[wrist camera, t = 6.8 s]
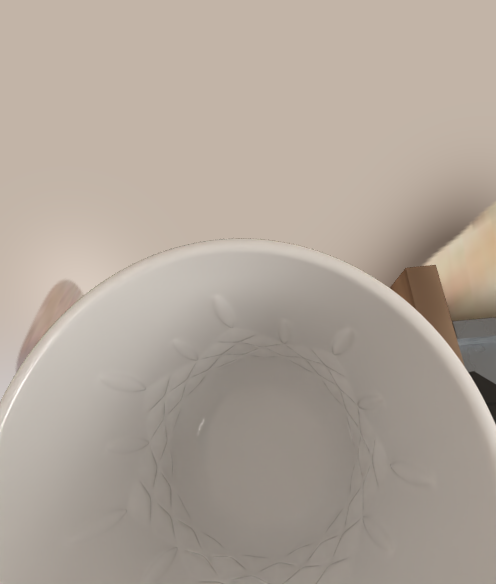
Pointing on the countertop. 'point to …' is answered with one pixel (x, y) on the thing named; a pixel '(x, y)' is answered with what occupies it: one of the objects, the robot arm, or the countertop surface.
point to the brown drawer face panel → (428, 300)
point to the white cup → (245, 432)
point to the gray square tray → (478, 345)
